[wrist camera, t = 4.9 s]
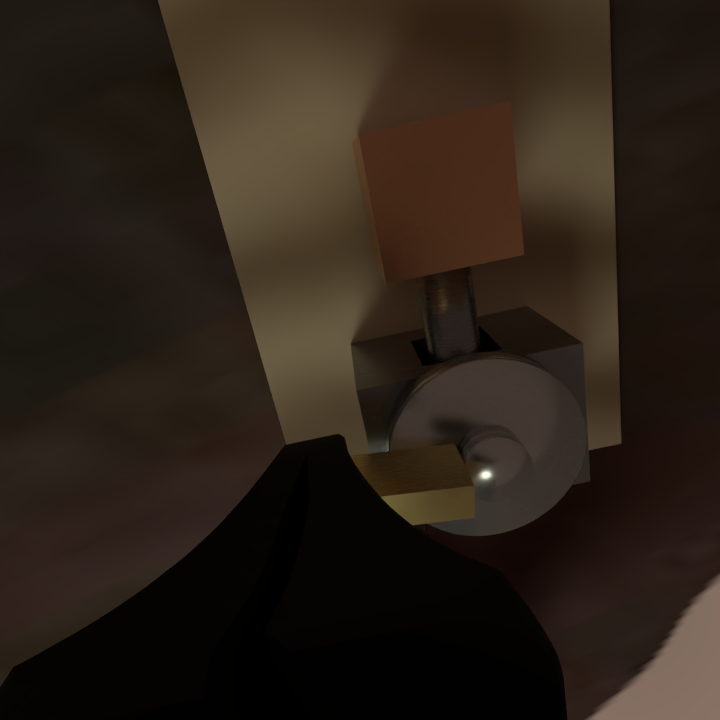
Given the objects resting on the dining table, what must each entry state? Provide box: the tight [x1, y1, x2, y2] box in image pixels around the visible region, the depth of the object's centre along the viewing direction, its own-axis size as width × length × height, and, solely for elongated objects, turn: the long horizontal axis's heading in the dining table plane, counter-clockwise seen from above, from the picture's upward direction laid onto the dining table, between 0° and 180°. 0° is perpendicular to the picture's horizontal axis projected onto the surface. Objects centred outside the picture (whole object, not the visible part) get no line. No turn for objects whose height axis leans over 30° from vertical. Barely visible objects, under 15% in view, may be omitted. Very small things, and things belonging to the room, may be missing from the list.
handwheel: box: [351, 352, 586, 536], centre depth 15 cm, size 8×6×3 cm
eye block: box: [351, 306, 590, 485], centre depth 19 cm, size 5×7×5 cm
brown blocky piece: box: [352, 101, 524, 365], centre depth 17 cm, size 12×4×4 cm, turn 12°
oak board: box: [158, 0, 621, 456], centre depth 19 cm, size 20×14×1 cm
